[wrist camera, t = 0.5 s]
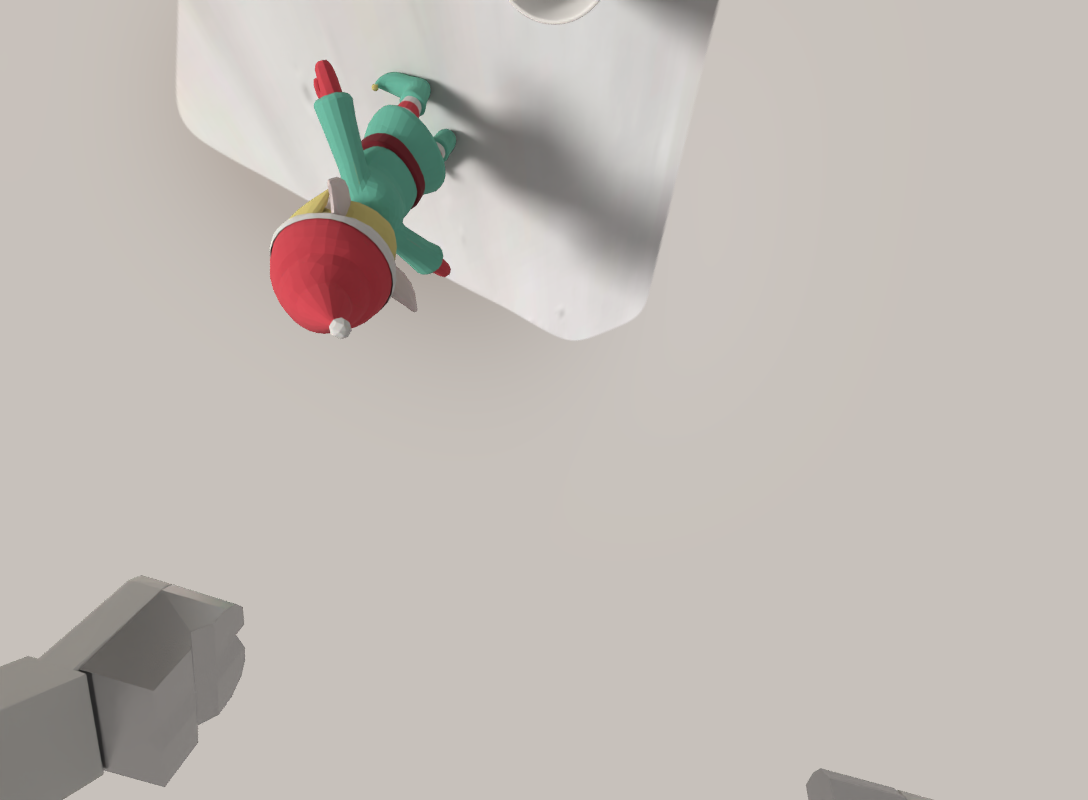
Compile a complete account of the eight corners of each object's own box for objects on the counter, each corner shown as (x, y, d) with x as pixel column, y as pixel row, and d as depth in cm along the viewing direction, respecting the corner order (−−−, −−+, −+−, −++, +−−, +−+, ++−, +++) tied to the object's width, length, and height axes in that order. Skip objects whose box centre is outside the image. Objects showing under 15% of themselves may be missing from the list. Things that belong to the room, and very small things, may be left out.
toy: (343, 19, 52) (110, 230, 32) (428, -21, 49) (230, 184, 29) (448, 209, 63) (324, 456, 42) (522, 186, 60) (428, 440, 39)
